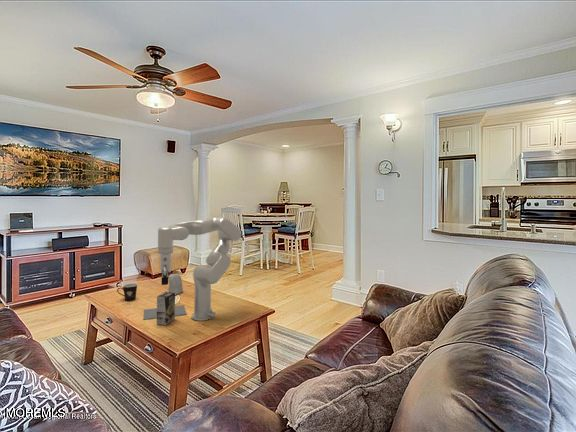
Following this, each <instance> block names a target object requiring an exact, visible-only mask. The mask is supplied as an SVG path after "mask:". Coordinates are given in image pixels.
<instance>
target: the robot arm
mask: <svg viewBox="0 0 576 432" xmlns="http://www.w3.org/2000/svg"><path fill="white" fill-rule="evenodd" d="M212 232H217V236H218V237H217V238H218V240H217V244H216V245H215V247H214V248H213V249H212V251H211V252H209V254H208V256H207V257H206V259H205V262H206V264H199V265H196V266H195V267H194V268H193V272H192V278H193V283H194V308H193V310H194V313H192V315H191V319H192V320H194V321H199V322H201V321H203V322H204V321H208V319H209V320H211V319H212V318H215V317H216V314H217V312H215V311H213V308H211V307H212V305H211V304H212V300H211V299H212V285H215V284H217V283H218V282H219V281H220V279H221V278H222V277H223V276H224V274H225V273H226V271H227V270H228V269H229V267H230V266H231V256H229V255H228V253H229V252H230V249H231V244H230V241H232V242H237V241H239V240H240V239H241V237H242V231H241V229H240V228H239V227H238V226H237V225H236V224H235V223H233V222H232V221H231V220H230V219H228V218H226V217H219V216H213V217H208V218H204V219H198V220H191V221H184V222H183V221H182V222H179V223H173V224H171V225H168V226H162V227H159V228H158V229H157V254H158V255H160V256H159V257H160V258H159V259H160V260H159V261H160V262H159V263H160V273H161V285H162V286H169V275H170V274H169V273H171V271H172V254H173V253H174V241H185V240H186V239H187V238H188V237H189V236H190V235H193V236H200V235H205V234H209V233H212Z"/></svg>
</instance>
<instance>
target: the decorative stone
mask: <svg viewBox="0 0 576 432" xmlns="http://www.w3.org/2000/svg"><path fill="white" fill-rule="evenodd" d="M182 280H183V279H182V276H181V275H180V274H179V273H178V274H177V273H171V274H169V279H168V291H167V292H173V293H175V294H177V295H180V294H182V293H183V290H184V289H183V281H182Z"/></svg>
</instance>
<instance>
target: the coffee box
mask: <svg viewBox="0 0 576 432" xmlns="http://www.w3.org/2000/svg"><path fill="white" fill-rule="evenodd" d="M175 306H176V295H175V293H173V292H169V291H165V292H163V293H161V294H159V295H157V296H156V308H157V318H156V325H163V326H168V324H170V323H171V322H173V321H174V320H175V319H176V316H175Z"/></svg>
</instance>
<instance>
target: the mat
mask: <svg viewBox="0 0 576 432" xmlns="http://www.w3.org/2000/svg"><path fill="white" fill-rule="evenodd" d="M187 315H188V314H187V310H186V307H185V305H184V304H183V305H175V317H179V316H187ZM155 319H156V320H157V307H155V308H145V309H143V321H146V320H155Z"/></svg>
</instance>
